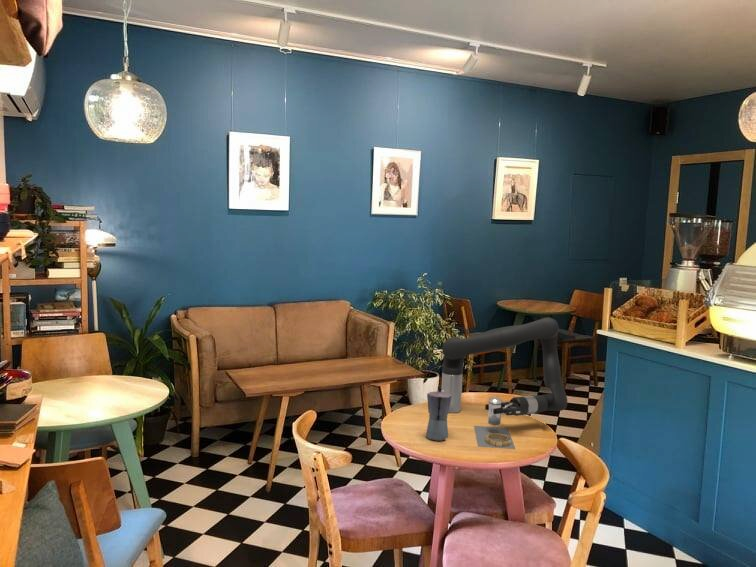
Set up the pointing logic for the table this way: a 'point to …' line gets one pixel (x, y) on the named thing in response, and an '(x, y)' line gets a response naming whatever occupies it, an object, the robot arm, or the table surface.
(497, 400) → the silver metal cylinder
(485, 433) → the mat
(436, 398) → the moka pot
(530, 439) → the table surface
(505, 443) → the ring collar
